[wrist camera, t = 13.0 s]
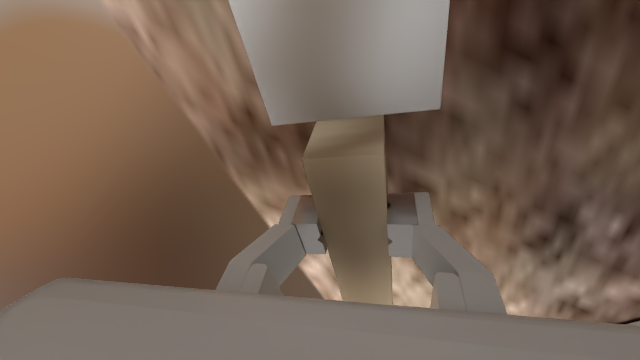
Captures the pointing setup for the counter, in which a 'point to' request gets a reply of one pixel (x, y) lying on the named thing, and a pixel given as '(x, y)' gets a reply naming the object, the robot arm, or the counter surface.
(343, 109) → the turner
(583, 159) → the counter surface
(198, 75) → the counter surface
